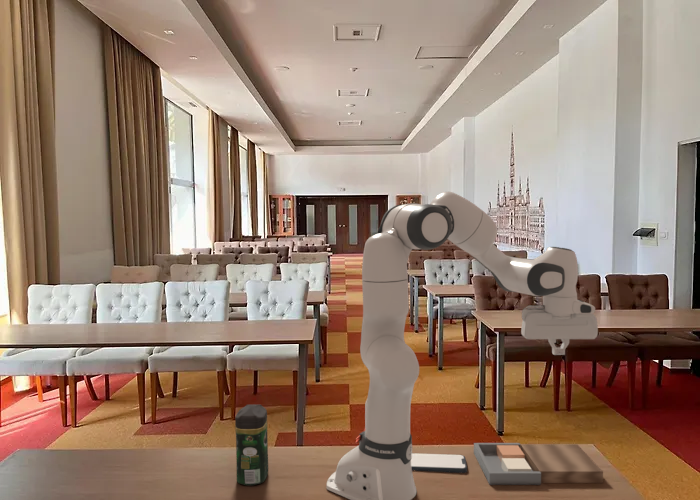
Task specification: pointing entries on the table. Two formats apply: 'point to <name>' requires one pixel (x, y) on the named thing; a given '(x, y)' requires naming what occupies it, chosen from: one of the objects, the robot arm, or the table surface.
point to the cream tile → (515, 464)
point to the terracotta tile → (509, 452)
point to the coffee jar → (251, 445)
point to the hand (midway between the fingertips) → (558, 354)
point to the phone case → (439, 463)
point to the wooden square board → (562, 463)
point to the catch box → (493, 467)
